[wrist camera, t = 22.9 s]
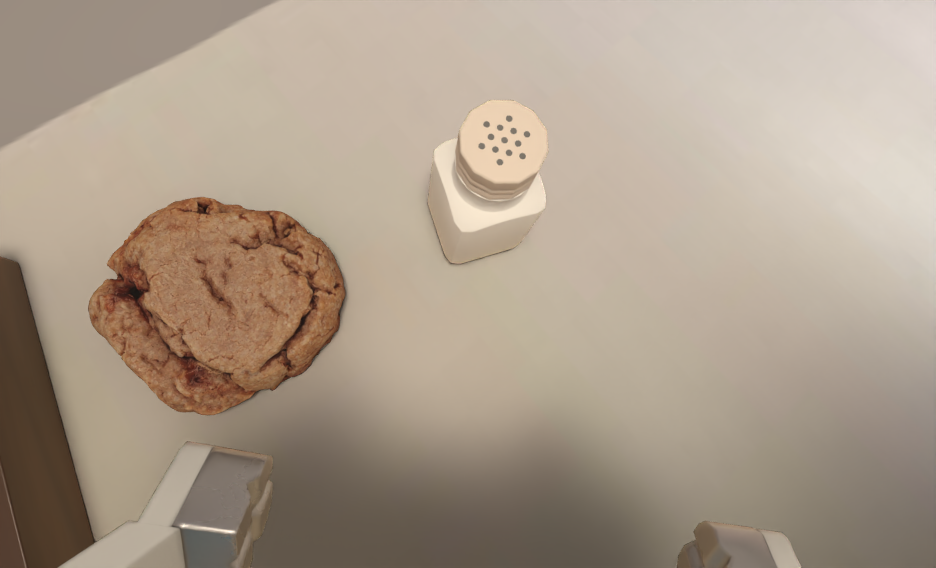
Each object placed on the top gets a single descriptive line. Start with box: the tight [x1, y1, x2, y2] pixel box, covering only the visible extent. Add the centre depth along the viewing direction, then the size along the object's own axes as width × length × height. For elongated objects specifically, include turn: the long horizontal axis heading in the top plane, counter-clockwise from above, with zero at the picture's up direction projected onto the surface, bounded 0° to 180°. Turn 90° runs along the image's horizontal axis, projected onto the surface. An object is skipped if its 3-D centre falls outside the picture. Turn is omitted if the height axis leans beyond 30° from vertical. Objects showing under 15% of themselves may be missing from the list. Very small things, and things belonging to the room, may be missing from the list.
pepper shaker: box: [428, 100, 549, 264], centre depth 25 cm, size 4×4×10 cm
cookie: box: [88, 197, 345, 415], centre depth 26 cm, size 10×11×3 cm
